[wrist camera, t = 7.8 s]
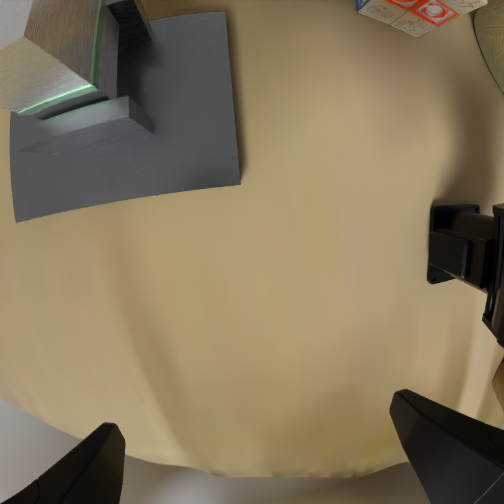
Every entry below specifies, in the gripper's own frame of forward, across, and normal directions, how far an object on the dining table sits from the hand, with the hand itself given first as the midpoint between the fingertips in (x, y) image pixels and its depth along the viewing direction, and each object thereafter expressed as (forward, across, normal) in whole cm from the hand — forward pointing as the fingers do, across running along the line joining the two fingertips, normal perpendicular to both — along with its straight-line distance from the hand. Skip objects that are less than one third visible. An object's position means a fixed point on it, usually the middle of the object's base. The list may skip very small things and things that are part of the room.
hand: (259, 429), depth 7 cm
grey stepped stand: (+12, +7, -13) cm, 19 cm away
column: (+8, +7, -14) cm, 18 cm away
